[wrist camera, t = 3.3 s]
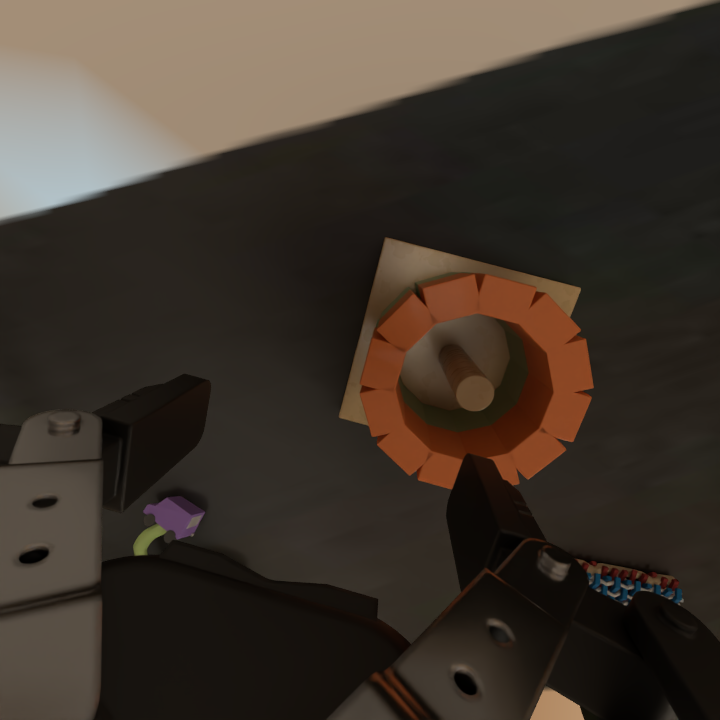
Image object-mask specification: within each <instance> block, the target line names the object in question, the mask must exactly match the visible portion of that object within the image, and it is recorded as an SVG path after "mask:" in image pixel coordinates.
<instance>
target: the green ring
mask: <svg viewBox="0 0 720 720" xmlns="http://www.w3.org/2000/svg"><path fill="white" fill-rule="evenodd" d="M460 273H468V272H460ZM455 274H458V273H456V272H450V273H446V274H443V275H439V276H435V277H432V278H428V279H425V280H421V281H417V282H415V287H416V291H417V294H416V293H415V292H414V291H413V290H412V289H411V288H410V287H407V288H406V289H405V290H404V291H403V292H402V293H401V294H400V295H399V296H398V297H397V298H396V299H395V300H394V301H393V302H392V303H391V304H390V305H389V306H388V307H387V308H386V309H385V310H384V311H383V312H382V314H381V318H382V317H383V316H384V315H385V314H386V313H387V312H388V311H389V310H390V309H391V308H392V307H393V306H394V305H395V304H396V303H397V302H398V301H399V300H400V299H401V298H402V297H403V296H404V295H405V294H406V293H407V292H408V291H409V290H412V291H413V292H414V293H415V294H416V295H417V296H418V297H419V298H420V299H421V297H420V292H419V288H418V285H419V284H422V283H426V282H429V281H433V280H437V279H440V278H444V277H447V276H451V275H455ZM468 274H470V273H468ZM381 318H380V319H381ZM380 319H378V320H377V323H376V326H375V327H378V324H379V321H380ZM494 319H495V320H496V321H497V322H498V323H499V324H500V325H501V327H502V328H503V329H504V330H505V334H506V339H507V344H508V349H509V354H510V360H509V363H508V365H507V368H506V371H505V374H504V376H503V379H502V382H501V385H500V386H499V387H498V388H497V389H495V390H494V397H493V400H492V402H491V403H490V404H489V405H488V406H487V407H486V408H484V409H482V410H480V411H469V410H466V409H464V408H459V409H455V410H451V411H449V410H446V409H442V408H438V407H434V406H431V405H427V404H423V403H422V402H421V401H420V400H419V399H418V398H417V397H416V396H415V395H414V394H413V393H412V392H410V391H409V390H408V389H407V388H406V387H405V386H404V385H403V383H402V379H401V376H399V379H398V382H399V386H400V389H401V393H402V397H403V401H404V402H405V403H406V404H407V405H408V406H409V407H410V408H411V409H412V410H413V411H414V412H415V413H416V414H417V415H418V416H419V417H420V418H421V419H422V420H423V421H424V422H425V423H426V424H429V425H432V426H436V427H440V428H443V429H447V430H451V431H454V432H462V431H466V430H471V429H476V428H480V427H485V426H489V425H492V424H493V423H494V422H496V421H497V420H498V419H499V418H500V417H502V416H503V415H504V414H505V413H506V412H508V411H509V410H510V409H511V408H512V407H514V406H515V405H516V404H517V402H518V399H519V397H520V394H521V392H522V389H523V386H524V384H525V381H526V378H527V376H528V373H529V372H528V367H527V362H526V357H525V351H524V346H523V341H522V339H521V338H520V337H519V336H518V335H517V334H516V333H515V332H514V331H513V330H512V328H511V327H510V326H509V325H508V324H507V323H506V322H505V321H504V320H501V319H497V318H494Z"/></svg>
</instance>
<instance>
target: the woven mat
mask: <svg viewBox="0 0 720 720" xmlns="http://www.w3.org/2000/svg"><path fill="white" fill-rule="evenodd" d="M575 560H577V561H578V562H579V564H580V565H581V566H582V567H583V568H584V570H585V571H586V573H587V575H588V577H589V587H590V588H592V589H594V590H596V591H598V592H600V593H602V594H604V595H606V596H608V597H610V598H612V599H614V600H616V601H618V602H620V603H622V604H624V605H626V606H628V605H629V603H630V601H631V599H632V597H633V595H634V594H635V593H636V592H637V591H650V592H653V593H656V594H659V595H661V596H664V597H666V598H668V599H670V600H671V601H673V602H675V603H678V602H683V601H684V599H682V589H677V586H678V584H679V581H678V580H676V579H674V577H673V576H668V575H661V574H656V573H655V572H650V573H647V574H645V573H644V572H642V571H638V570H635V569H631V568H625V567H620V566H615V565H609V564H604V563H598V564H596V561H590V562H588V563H587V562H585V561H584V560H579V559H575ZM607 573H609V574H610V575H609V576H606V575H607ZM626 577H630V578H629V580H627V579H626ZM635 579H638V580H639V581H635ZM667 584H670V585H669V587H668V588H665V587H666V585H667ZM678 605H680V604H679V603H678Z"/></svg>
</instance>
